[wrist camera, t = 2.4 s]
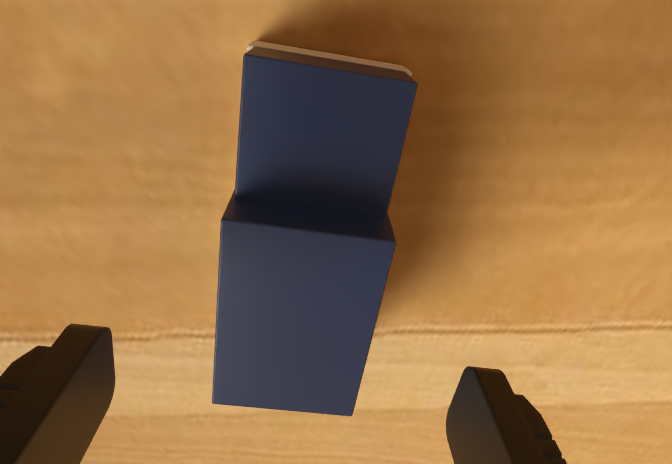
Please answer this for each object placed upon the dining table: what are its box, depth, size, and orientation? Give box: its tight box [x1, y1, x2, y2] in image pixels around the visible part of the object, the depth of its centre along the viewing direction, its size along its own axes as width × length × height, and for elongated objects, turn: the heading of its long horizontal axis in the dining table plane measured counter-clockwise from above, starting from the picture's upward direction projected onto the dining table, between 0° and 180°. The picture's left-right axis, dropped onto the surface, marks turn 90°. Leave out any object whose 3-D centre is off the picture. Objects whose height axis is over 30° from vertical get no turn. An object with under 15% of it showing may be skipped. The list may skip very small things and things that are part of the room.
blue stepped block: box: [212, 41, 418, 416], centre depth 15 cm, size 12×5×5 cm, turn 171°
